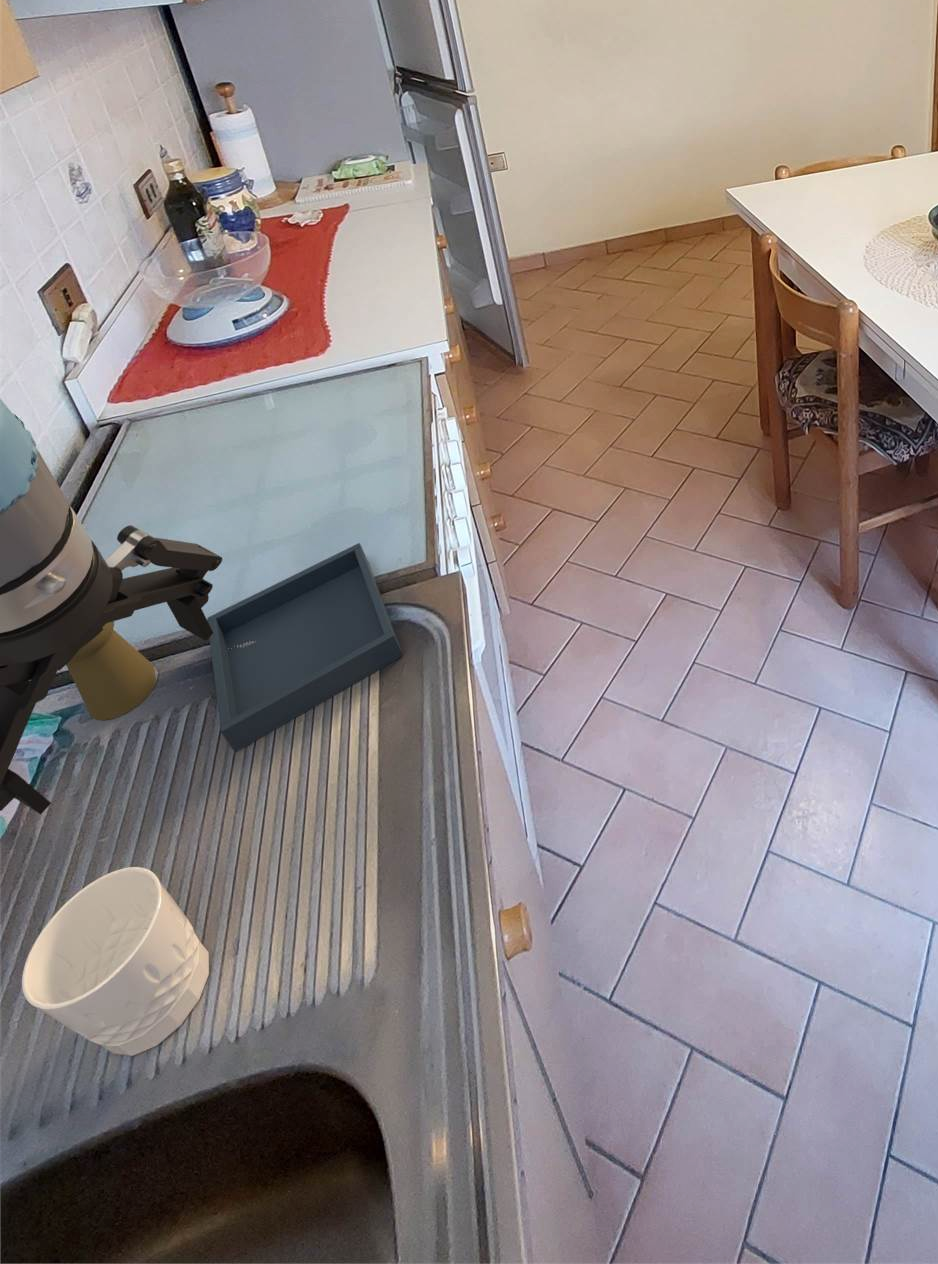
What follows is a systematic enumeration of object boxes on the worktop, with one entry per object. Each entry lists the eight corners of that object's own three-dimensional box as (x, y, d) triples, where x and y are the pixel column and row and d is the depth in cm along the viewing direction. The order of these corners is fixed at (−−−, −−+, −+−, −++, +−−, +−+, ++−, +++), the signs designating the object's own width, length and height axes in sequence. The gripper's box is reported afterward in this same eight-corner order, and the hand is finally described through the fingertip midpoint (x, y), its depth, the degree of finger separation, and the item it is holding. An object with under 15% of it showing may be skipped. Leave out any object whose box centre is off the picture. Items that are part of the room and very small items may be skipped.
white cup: (204, 906, 64) (147, 841, 59) (232, 992, 59) (172, 929, 54) (87, 998, 59) (15, 936, 54) (106, 1101, 54) (28, 1042, 49)
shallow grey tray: (219, 637, 86) (206, 617, 85) (368, 561, 94) (359, 542, 92) (235, 752, 75) (220, 731, 73) (403, 656, 82) (393, 635, 81)
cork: (160, 694, 81) (109, 623, 76) (89, 733, 78) (30, 662, 73) (156, 653, 85) (107, 583, 80) (88, 688, 82) (33, 618, 77)
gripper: (-186, 830, 39) (-13, 918, 53) (240, 455, 58) (286, 591, 71) (-298, 756, 40) (-100, 861, 54) (156, 411, 59) (217, 554, 72)
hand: (121, 707), depth 63 cm, fingers open, 13 cm apart
